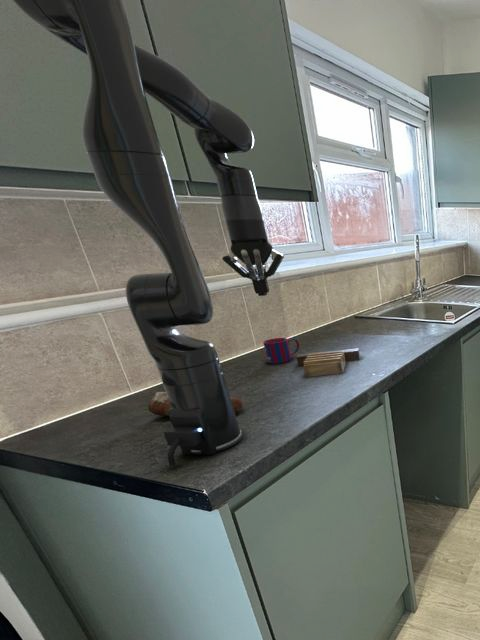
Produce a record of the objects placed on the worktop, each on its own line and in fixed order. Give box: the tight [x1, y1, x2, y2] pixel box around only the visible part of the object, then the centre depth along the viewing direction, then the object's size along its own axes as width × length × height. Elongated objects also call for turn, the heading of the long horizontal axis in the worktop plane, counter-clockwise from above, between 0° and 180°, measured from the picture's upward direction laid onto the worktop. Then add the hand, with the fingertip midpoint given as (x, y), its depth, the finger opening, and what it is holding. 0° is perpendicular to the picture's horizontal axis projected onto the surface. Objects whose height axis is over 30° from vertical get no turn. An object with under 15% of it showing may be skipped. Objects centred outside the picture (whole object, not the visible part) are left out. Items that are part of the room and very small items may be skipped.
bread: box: [147, 391, 244, 417], centre depth 96 cm, size 6×19×6 cm, turn 90°
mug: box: [263, 337, 300, 365], centre depth 134 cm, size 7×10×7 cm
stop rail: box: [296, 347, 361, 367], centre depth 131 cm, size 3×18×3 cm, turn 106°
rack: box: [303, 350, 347, 378], centre depth 123 cm, size 10×10×4 cm
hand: (263, 295), depth 100 cm, fingers closed
